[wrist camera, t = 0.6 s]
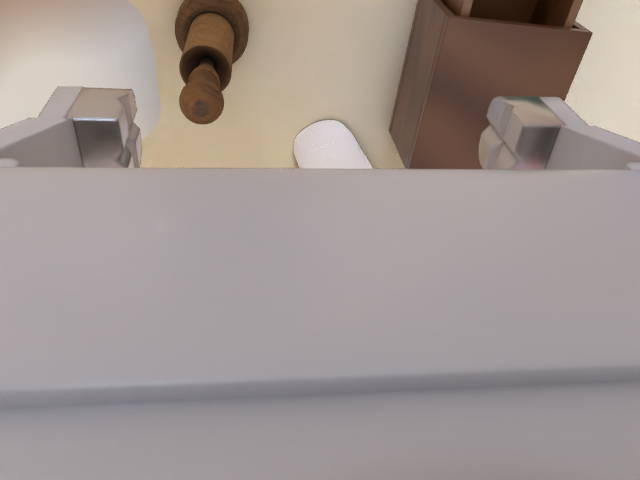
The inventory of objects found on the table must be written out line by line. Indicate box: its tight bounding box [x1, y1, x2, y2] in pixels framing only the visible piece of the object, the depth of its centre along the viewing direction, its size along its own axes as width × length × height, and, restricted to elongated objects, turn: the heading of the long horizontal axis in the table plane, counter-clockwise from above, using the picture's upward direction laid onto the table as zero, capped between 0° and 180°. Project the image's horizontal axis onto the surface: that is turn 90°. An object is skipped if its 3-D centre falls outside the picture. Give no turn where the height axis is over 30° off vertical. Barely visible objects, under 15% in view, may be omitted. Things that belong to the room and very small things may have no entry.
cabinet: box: [389, 0, 592, 169], centre depth 53 cm, size 15×13×9 cm
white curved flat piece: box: [293, 120, 373, 169], centre depth 61 cm, size 7×12×2 cm, turn 31°
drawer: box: [441, 0, 583, 28], centre depth 49 cm, size 15×11×7 cm
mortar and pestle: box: [175, 0, 249, 124], centre depth 45 cm, size 7×6×18 cm
